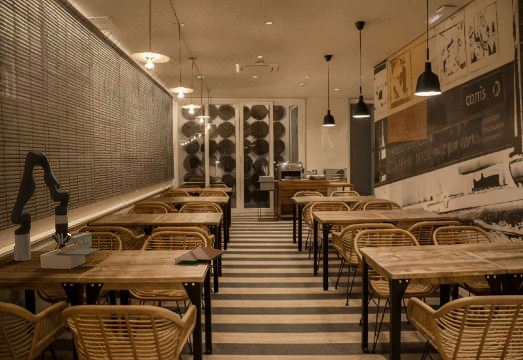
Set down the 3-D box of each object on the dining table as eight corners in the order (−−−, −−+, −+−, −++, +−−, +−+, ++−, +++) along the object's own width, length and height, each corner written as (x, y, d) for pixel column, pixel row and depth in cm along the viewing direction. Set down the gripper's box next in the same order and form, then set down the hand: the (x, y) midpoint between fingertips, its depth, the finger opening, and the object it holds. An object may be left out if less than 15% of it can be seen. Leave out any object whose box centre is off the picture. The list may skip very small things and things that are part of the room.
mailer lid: (56, 254, 282) (56, 248, 282) (71, 249, 298) (71, 243, 298) (86, 255, 279) (86, 249, 279) (100, 250, 295) (100, 244, 295)
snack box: (74, 260, 304) (73, 237, 303) (67, 260, 305) (66, 237, 304) (92, 253, 325) (92, 232, 324) (85, 253, 326) (84, 232, 325)
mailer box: (40, 267, 285) (40, 255, 284) (56, 261, 301) (56, 249, 300) (70, 268, 281) (70, 255, 281) (85, 262, 297) (84, 250, 297)
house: (226, 254, 314) (225, 242, 314) (207, 266, 282) (207, 253, 282) (194, 253, 320) (194, 241, 320) (173, 264, 289) (173, 251, 288)
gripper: (48, 223, 287) (49, 250, 288) (67, 223, 285) (68, 251, 286) (55, 221, 294) (56, 248, 295) (74, 221, 292) (75, 248, 293)
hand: (62, 249), depth 291 cm, fingers closed
